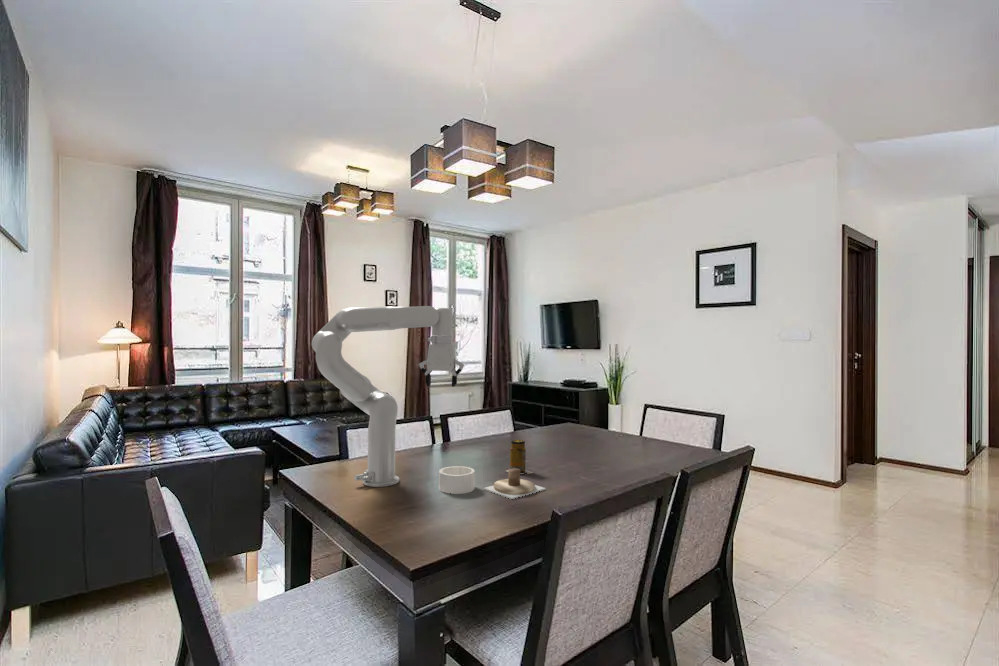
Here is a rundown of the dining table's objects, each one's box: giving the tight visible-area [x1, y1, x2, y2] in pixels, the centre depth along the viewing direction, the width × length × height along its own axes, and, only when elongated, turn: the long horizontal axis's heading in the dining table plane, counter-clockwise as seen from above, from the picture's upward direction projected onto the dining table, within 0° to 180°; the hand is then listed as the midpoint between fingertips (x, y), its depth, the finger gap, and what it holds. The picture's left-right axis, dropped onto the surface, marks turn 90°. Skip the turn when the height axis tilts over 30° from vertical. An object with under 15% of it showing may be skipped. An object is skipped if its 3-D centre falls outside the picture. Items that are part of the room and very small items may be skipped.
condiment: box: [505, 439, 534, 475], centre depth 194 cm, size 7×8×12 cm
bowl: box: [438, 465, 476, 495], centre depth 172 cm, size 12×12×6 cm
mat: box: [482, 484, 547, 500], centre depth 171 cm, size 16×14×1 cm
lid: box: [493, 468, 536, 494], centre depth 171 cm, size 14×14×6 cm
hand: (441, 385), depth 189 cm, fingers open, 9 cm apart
